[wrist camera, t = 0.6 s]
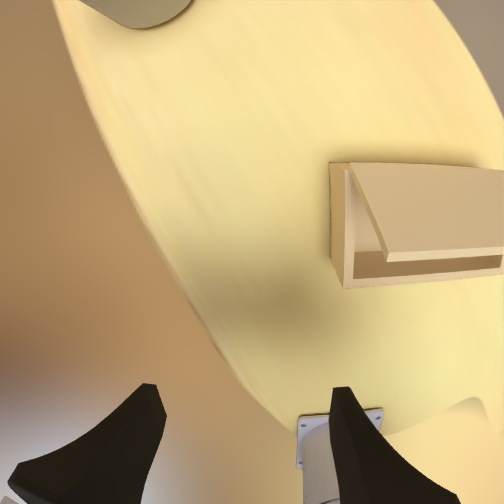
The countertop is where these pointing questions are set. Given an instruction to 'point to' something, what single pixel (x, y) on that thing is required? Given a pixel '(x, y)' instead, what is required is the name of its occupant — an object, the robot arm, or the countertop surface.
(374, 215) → the flap
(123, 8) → the beverage can
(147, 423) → the robot arm
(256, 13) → the countertop surface
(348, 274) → the carton
